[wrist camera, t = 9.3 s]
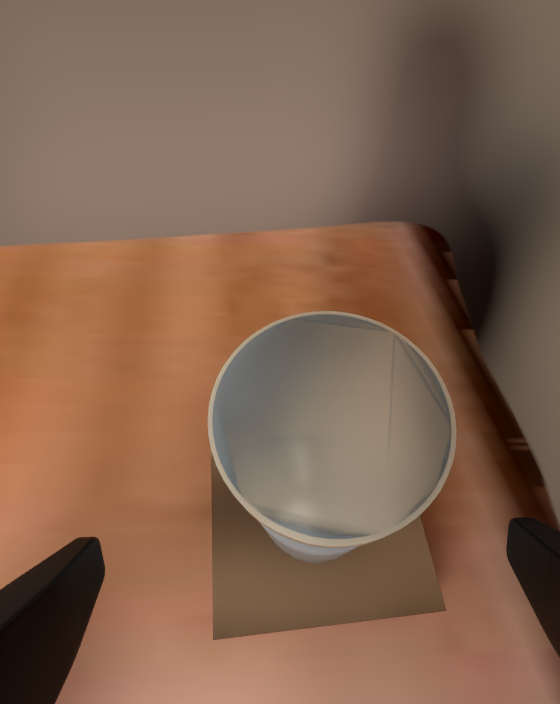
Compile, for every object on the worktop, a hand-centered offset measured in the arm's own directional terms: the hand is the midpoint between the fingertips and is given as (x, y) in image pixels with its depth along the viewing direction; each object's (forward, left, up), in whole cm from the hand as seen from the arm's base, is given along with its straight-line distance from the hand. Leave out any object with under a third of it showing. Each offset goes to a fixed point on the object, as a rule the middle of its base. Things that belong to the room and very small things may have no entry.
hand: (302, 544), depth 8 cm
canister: (+2, -1, -11) cm, 11 cm away
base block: (+3, -1, -14) cm, 14 cm away
